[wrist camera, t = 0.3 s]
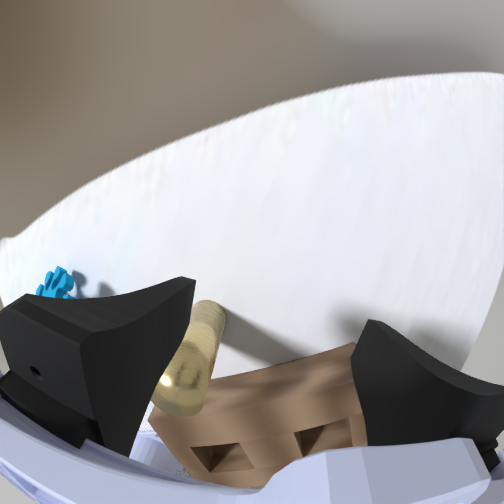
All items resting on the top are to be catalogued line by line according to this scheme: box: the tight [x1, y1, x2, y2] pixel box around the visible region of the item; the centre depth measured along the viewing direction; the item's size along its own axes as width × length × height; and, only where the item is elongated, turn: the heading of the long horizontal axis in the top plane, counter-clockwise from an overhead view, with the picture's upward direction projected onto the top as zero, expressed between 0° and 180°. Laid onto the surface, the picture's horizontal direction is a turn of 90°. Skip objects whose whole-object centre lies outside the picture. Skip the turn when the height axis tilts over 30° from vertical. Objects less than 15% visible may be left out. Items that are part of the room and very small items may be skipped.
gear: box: [36, 266, 76, 299], centre depth 21 cm, size 11×6×10 cm
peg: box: [151, 300, 226, 417], centre depth 17 cm, size 3×3×10 cm
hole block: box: [147, 342, 368, 488], centre depth 22 cm, size 18×12×5 cm, turn 107°
